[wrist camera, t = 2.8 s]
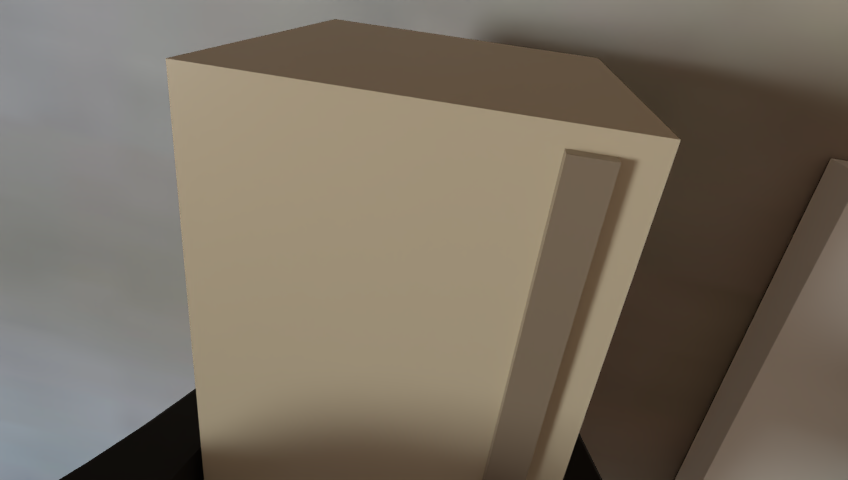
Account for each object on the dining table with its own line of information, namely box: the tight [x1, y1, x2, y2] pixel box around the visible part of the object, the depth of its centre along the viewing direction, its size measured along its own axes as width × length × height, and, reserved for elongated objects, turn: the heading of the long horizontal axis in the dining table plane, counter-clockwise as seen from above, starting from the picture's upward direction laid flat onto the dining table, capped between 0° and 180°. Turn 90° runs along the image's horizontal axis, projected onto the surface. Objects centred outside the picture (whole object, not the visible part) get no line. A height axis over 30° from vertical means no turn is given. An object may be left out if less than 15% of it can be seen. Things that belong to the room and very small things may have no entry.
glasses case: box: [166, 19, 681, 480], centre depth 9 cm, size 12×4×5 cm, turn 173°
